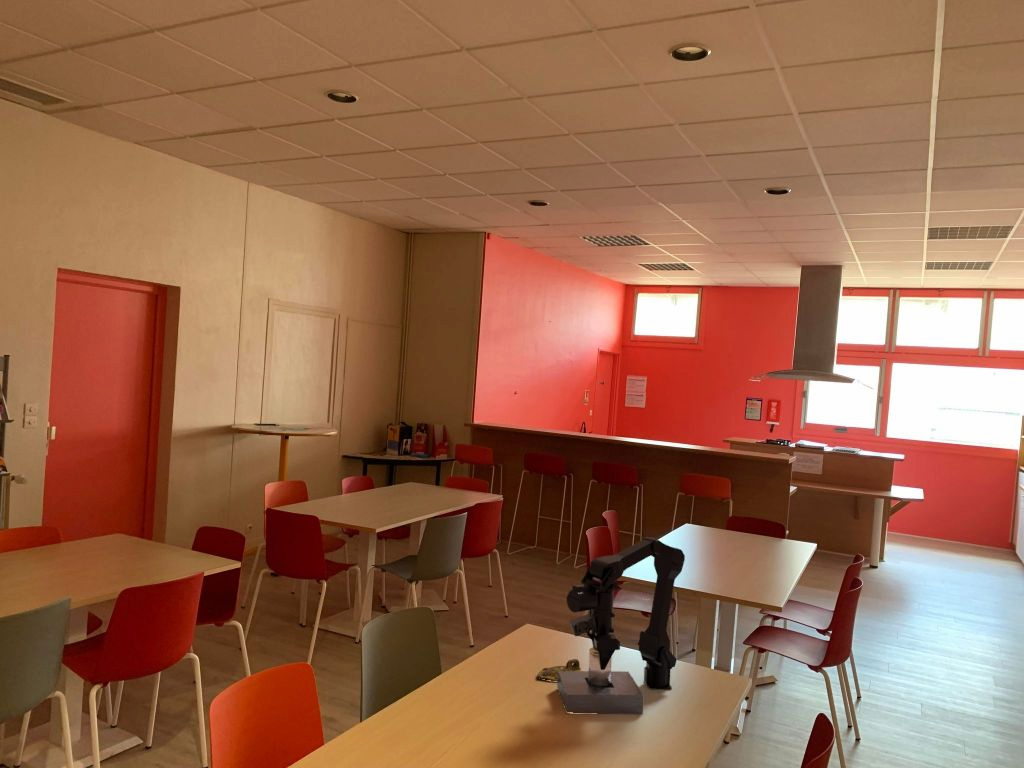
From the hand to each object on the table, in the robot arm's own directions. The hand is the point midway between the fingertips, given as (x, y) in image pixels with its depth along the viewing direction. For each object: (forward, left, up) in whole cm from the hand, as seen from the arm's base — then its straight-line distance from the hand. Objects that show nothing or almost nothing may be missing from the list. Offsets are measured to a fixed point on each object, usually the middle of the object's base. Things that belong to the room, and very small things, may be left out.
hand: (600, 665), depth 202 cm
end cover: (0, 0, -5) cm, 5 cm away
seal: (+8, -18, -10) cm, 22 cm away
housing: (0, 0, -10) cm, 10 cm away
